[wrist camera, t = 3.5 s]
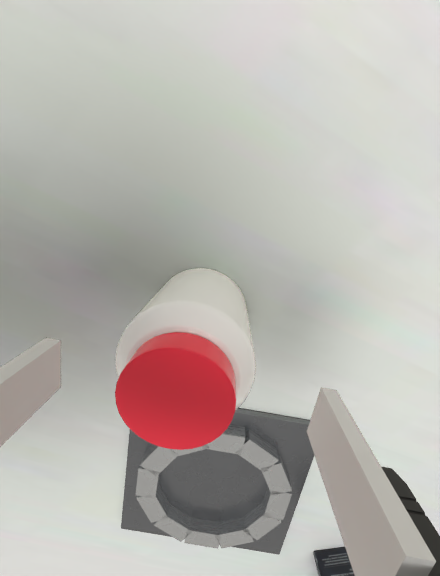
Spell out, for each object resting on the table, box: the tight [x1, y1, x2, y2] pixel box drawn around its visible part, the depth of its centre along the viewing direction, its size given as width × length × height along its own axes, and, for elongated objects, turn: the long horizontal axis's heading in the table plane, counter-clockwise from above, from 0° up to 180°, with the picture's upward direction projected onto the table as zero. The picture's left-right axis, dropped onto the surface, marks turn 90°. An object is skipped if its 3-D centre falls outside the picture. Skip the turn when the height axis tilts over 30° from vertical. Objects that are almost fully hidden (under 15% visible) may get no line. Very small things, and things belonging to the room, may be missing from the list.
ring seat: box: [121, 408, 314, 554], centre depth 26 cm, size 18×18×2 cm
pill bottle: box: [115, 268, 256, 450], centre depth 17 cm, size 8×8×11 cm
